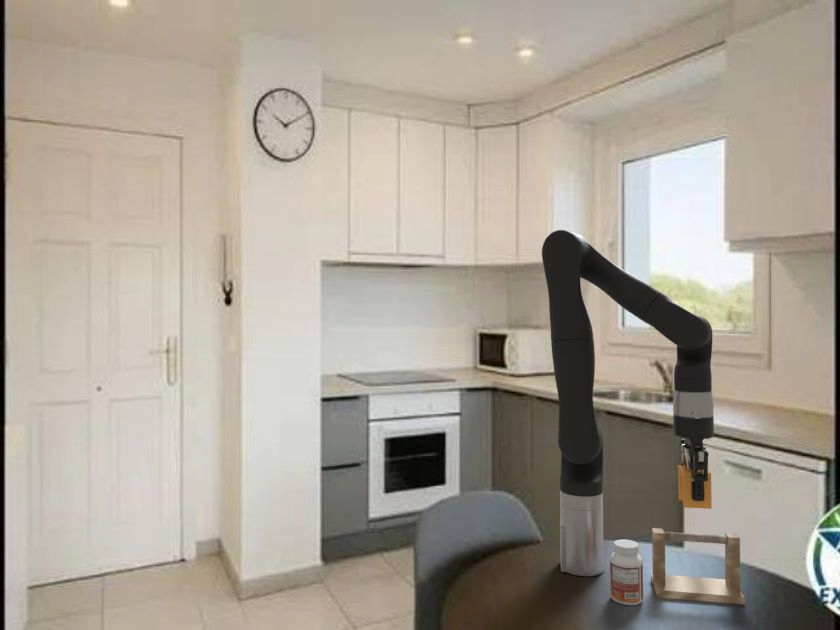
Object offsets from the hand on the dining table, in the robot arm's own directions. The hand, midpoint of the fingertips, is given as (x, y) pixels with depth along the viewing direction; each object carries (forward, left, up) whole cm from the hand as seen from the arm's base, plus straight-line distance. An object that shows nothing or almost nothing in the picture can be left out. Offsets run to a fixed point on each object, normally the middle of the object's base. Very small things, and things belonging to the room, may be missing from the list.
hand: (694, 495), depth 126 cm
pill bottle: (-14, -6, -20) cm, 25 cm away
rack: (0, 0, -20) cm, 20 cm away
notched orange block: (0, 0, -2) cm, 2 cm away
